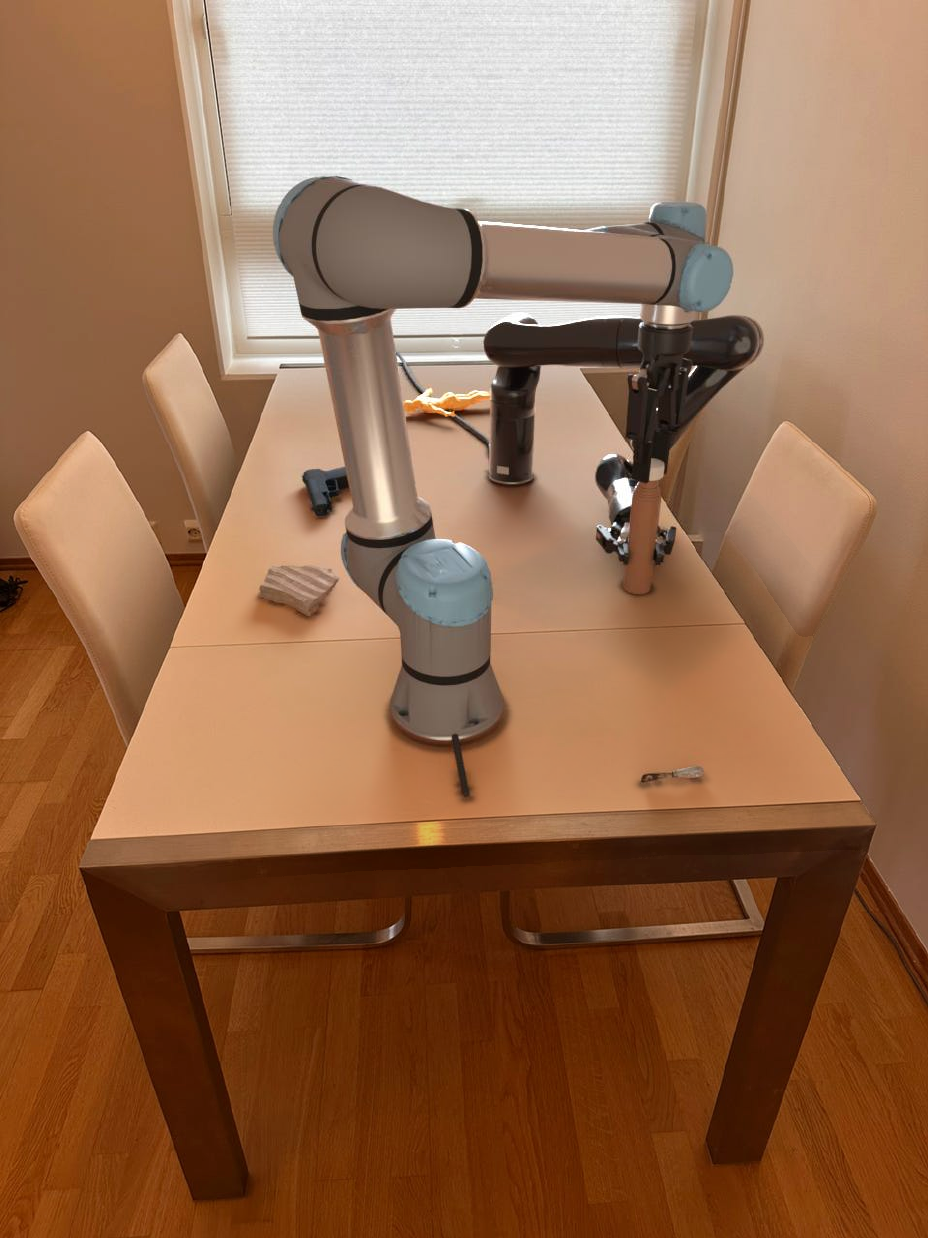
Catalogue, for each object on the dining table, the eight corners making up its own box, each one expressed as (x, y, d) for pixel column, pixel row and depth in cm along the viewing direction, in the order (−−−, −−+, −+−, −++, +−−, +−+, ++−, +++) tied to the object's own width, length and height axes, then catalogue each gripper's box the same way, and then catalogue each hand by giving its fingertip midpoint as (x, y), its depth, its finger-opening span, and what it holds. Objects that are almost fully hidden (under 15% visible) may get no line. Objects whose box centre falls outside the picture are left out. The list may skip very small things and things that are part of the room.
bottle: (633, 577, 152) (646, 460, 141) (655, 587, 150) (670, 467, 138) (617, 587, 150) (629, 468, 138) (639, 597, 147) (654, 476, 135)
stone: (348, 583, 151) (347, 570, 149) (311, 618, 141) (310, 604, 140) (283, 570, 155) (281, 557, 154) (243, 602, 146) (241, 589, 144)
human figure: (395, 413, 223) (394, 398, 221) (438, 390, 237) (438, 375, 235) (462, 429, 215) (462, 413, 213) (502, 404, 229) (503, 388, 227)
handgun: (372, 511, 175) (311, 519, 173) (357, 476, 189) (301, 482, 187) (371, 496, 173) (310, 504, 171) (356, 462, 188) (299, 468, 185)
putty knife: (703, 777, 109) (705, 767, 109) (642, 788, 108) (644, 777, 107) (700, 772, 110) (702, 762, 109) (639, 782, 109) (640, 771, 108)
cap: (629, 474, 139) (630, 461, 138) (648, 467, 141) (650, 455, 140) (649, 483, 136) (650, 470, 135) (669, 476, 138) (670, 464, 137)
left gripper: (653, 338, 119) (636, 499, 131) (721, 315, 129) (700, 467, 142) (608, 328, 124) (595, 485, 136) (677, 307, 134) (660, 454, 146)
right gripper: (592, 494, 156) (599, 538, 142) (674, 495, 156) (690, 540, 141) (589, 533, 160) (596, 579, 146) (669, 534, 160) (684, 581, 145)
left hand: (649, 475), depth 139 cm, fingers closed on cap, 4 cm apart
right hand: (642, 560), depth 144 cm, fingers closed on bottle, 4 cm apart
